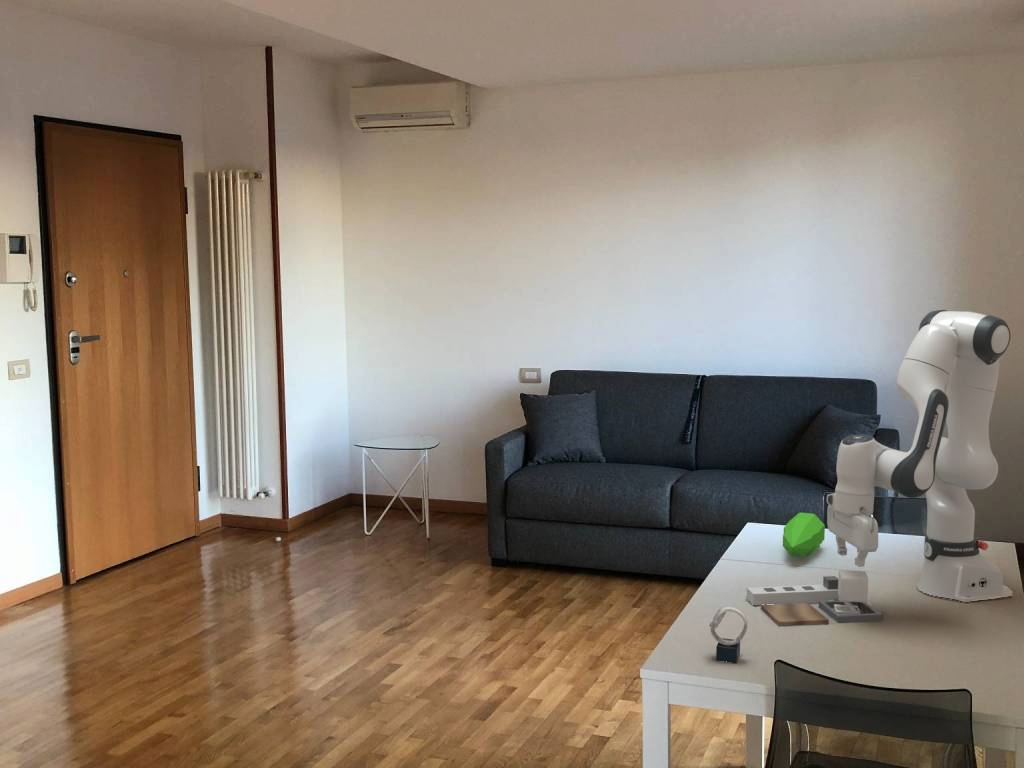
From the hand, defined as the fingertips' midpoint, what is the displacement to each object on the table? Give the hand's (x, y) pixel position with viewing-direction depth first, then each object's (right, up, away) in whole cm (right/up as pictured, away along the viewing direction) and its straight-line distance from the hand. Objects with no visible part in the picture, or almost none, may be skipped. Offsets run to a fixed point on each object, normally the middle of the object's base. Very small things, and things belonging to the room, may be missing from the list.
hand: (850, 560), depth 253 cm
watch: (-34, -17, -25) cm, 46 cm away
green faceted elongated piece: (+2, -7, +52) cm, 52 cm away
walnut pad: (-13, -13, 0) cm, 19 cm away
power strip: (-10, -12, +10) cm, 19 cm away
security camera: (0, -13, +2) cm, 14 cm away
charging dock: (0, -13, +2) cm, 13 cm away
